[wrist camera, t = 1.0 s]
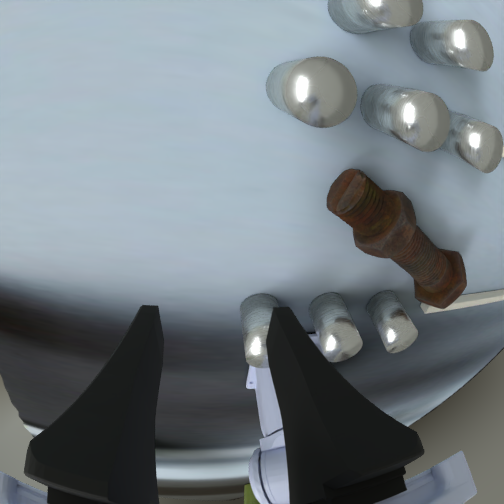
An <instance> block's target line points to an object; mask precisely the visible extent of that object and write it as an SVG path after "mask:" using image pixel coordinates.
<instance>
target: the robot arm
mask: <svg viewBox="0 0 504 504" xmlns="http://www.w3.org/2000/svg"><path fill="white" fill-rule="evenodd" d="M266 347H267V356H268V364H269V368H256V367H253V366H251V365H250V366H249V371H248V377H247V382H246V388H248V389H255V391H256V398H257V404H258V411H259V418H260V425H261V430H262V433H263V435H264V437H265V438H262V439H260V446H261V448H258V449H256V450H255V451H254V453H253V455H252V457H251V458H250V461H249V479H250V484H251V488H252V491H253V493H254V495H255V497H256V499H257V500H258V502H259V503H260V504H463V503H465V502H466V501H467V500H469V499H470V498H472V497H473V496H474V495H476V493H477V490H476V487H475V484H474V481H473V478H472V475H471V472H470V469H469V467H468V464H467V461H466V459H465V456H464V454H463V452H462V451H460V452H458V453H456V454H455V455H453V456H451V457H449V458H448V459H446V460H444V461H442V462H440V463H439V464H437V465H435V466H433V467H432V468H430V469H428V470H426V471H424V472H422V473H420V474H418V475H416V476H414V477H412V478H410V479H408V480H405V481H404V478H403V475H404V474H405V473H406V471H405V468H404V466H405V465H407V464H409V463H411V462H412V461H414V460H416V459H417V458H419V457H421V456H422V455H423V454H424V449H423V446H422V443H421V440H420V438H419V436H418V434H417V432H416V431H414V430H412V429H410V428H409V427H407V426H405V425H403V424H402V423H400V422H398V421H396V420H395V419H393V418H392V417H390V416H389V415H387V414H386V413H384V412H383V411H382V410H380V409H379V408H378V407H376V406H375V405H374V404H373V403H371V402H370V401H369V400H368V399H366V398H365V397H364V396H363V395H361V394H360V393H359V392H358V391H357V390H356V389H355V388H354V387H353V386H352V385H351V384H350V383H349V382H347V381H346V380H345V379H344V378H343V376H342V375H341V374H340V373H339V372H338V371H337V370H336V369H335V368H334V367H333V366H332V364H331V363H330V362H329V361H328V360H327V359H326V357H325V356H324V354H323V352H322V349H321V346H320V343H319V340H318V337H317V334H307V332H306V331H305V330H304V328H303V327H302V325H301V324H300V322H299V321H298V319H297V318H296V316H295V315H294V313H293V312H292V310H291V309H290V308H289V307H273V311H272V315H271V320H270V324H269V329H268V333H267V338H266ZM163 350H164V337H163V332H162V326H161V320H160V314H159V308H158V306H149V305H142V306H141V307H140V309H139V311H138V312H137V314H136V316H135V318H134V320H133V322H132V323H131V325H130V327H129V328H128V330H127V332H126V333H125V335H124V337H123V338H122V340H121V341H120V343H119V345H118V346H117V348H116V349H115V351H114V352H113V354H112V355H111V357H110V358H109V360H108V361H107V362H106V364H105V365H104V367H103V368H102V370H101V371H100V372H99V374H98V375H97V376H96V377H95V379H94V380H93V381H92V382H91V384H90V385H89V386H88V387H87V388H86V390H85V391H84V392H83V393H82V394H81V395H80V396H79V397H78V399H77V400H76V401H75V402H74V403H73V404H72V405H71V406H70V407H69V408H68V409H67V410H66V411H65V412H64V413H63V414H62V415H61V416H60V417H59V418H57V419H56V420H55V421H54V422H53V423H52V424H51V425H50V426H49V427H47V428H46V429H45V430H44V431H42V432H41V433H40V434H38V435H37V436H36V437H35V438H33V439H32V440H31V441H30V444H29V447H28V450H27V455H26V461H25V468H24V474H25V475H26V476H27V477H29V478H31V479H33V480H35V481H37V482H40V483H42V484H44V485H46V486H48V493H47V492H44V491H41V490H39V489H37V488H34V487H32V486H30V485H27V484H25V483H23V482H21V481H19V480H16V479H15V478H13V477H11V476H9V475H7V474H5V473H3V472H1V471H0V504H159V498H158V489H157V478H156V462H155V415H156V406H157V399H158V392H159V385H160V378H161V372H162V365H163Z"/></svg>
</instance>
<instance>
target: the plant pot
mask: <svg viewBox="0 0 504 504" xmlns="http://www.w3.org/2000/svg"><path fill="white" fill-rule="evenodd" d="M244 504H260V503H259V502H258V500H257V499H256V497H255V495H254V493H253V491H252V488H251V484H246V485H245V491H244Z"/></svg>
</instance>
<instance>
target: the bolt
mask: <svg viewBox="0 0 504 504" xmlns="http://www.w3.org/2000/svg"><path fill="white" fill-rule="evenodd" d="M327 208H328V210H330V211H332V213H333V214H335V215H336V216H338V217H340V218H341V219H342V220H343V221H345V222H346V223H347V224H349V225H350V226H351V227H353V236H354V241H355V245H356V247H358V248H359V249H360V250H362V251H363V252H364V253H367V254H369V255H372V256H376V257H380V258H391V259H392V260H393V261H394V262H396V263H397V264H398V265H399V266H400V267H402V268H403V269H404V270H405V271H406V272H408V273H409V274H410V275H411V276H412V277H413V278H414V287H415V298H416V299H417V300H419V301H420V302H422V303H424V304H427V305H430V306H433V307H436V308H440V309H445V308H447V307H448V306H450V305H451V304H452V303H453V302H454V301H455V300H456V299H457V298H458V297H459V296H460V295H461V294H462V292H463V291H464V289H465V288H466V286H467V280H466V272H465V267H464V262H463V259H462V257H461V255H460V254H459V252H456V251H449V250H443V249H437V248H436V247H435V245H434V244H433V243H432V242H431V241H430V239H429V238H428V237H427V236H426V235H425V234H424V233H423V232H422V231H421V229H420V228H419V227H418V226H417V225H416V216H415V212H414V209H413V206H412V203H411V201H410V200H409V199H408V198H407V197H406V195H405V194H404V193H403V192H398V191H393V190H385V191H383V190H381V189H380V188H379V187H378V186H377V185H376V184H375V183H374V182H373V181H372V180H371V179H370V178H369V177H367V175H365V174H364V172H362V171H361V172H360V170H354V169H348V170H346V171H344V172H343V173H342V174H341V175H340V176H339V177H338V178H337V179H336V180H335V181H334V183H333V184H332V186H331V187H330V190H329V193H328V195H327Z"/></svg>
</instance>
